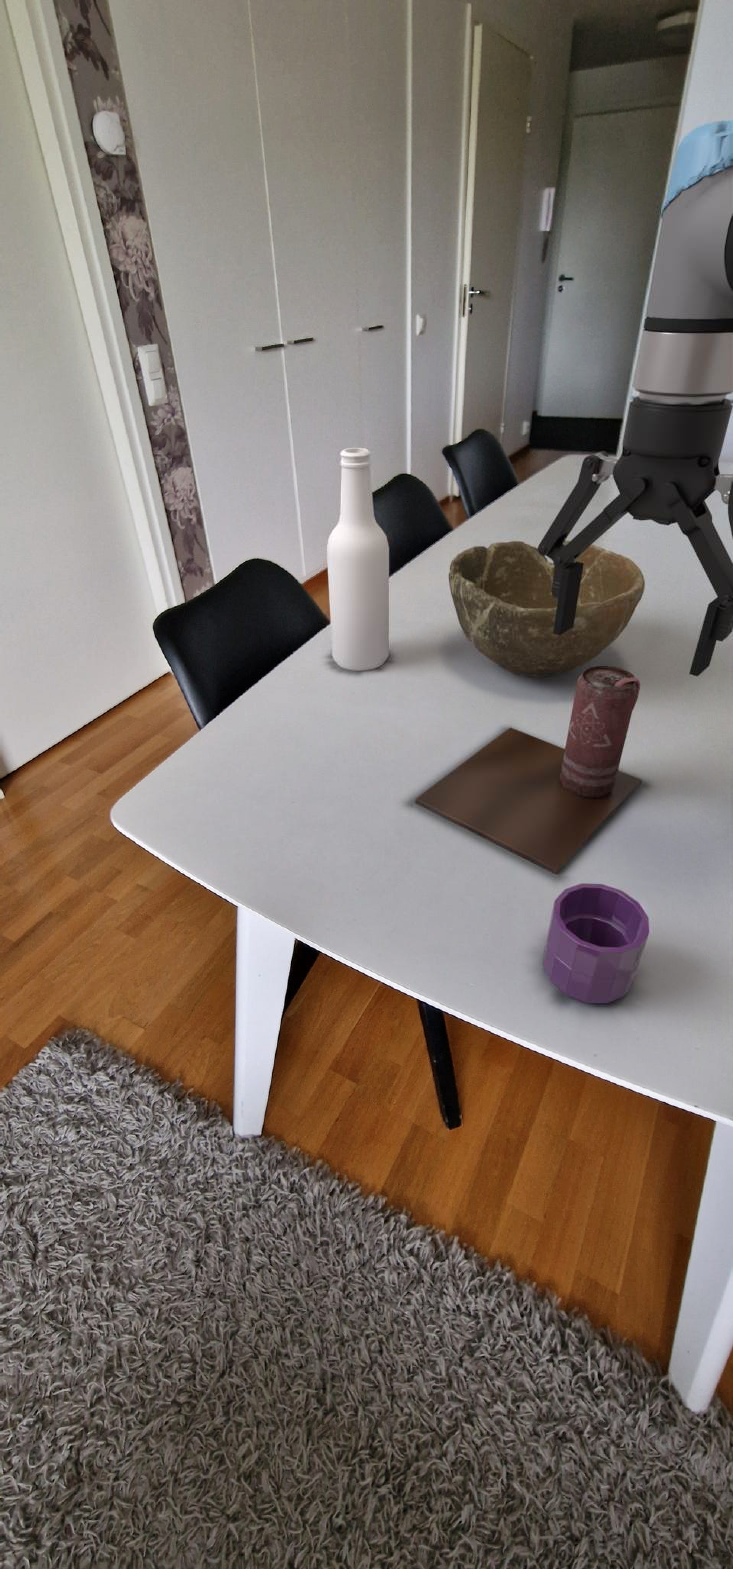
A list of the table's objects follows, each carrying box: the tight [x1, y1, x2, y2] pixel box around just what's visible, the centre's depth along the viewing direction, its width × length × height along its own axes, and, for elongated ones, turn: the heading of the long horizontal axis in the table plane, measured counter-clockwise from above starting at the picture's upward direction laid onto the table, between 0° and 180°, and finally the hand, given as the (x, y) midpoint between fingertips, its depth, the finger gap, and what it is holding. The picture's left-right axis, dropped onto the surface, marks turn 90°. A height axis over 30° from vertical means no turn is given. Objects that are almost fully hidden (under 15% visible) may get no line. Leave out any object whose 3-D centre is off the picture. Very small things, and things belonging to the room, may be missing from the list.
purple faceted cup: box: [542, 883, 650, 1004], centre depth 59 cm, size 7×8×7 cm
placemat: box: [414, 727, 643, 875], centre depth 81 cm, size 18×20×1 cm
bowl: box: [447, 540, 646, 678], centre depth 103 cm, size 28×27×15 cm
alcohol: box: [326, 447, 390, 672], centre depth 101 cm, size 9×9×30 cm
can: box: [560, 665, 641, 798], centre depth 77 cm, size 6×6×14 cm
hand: (627, 649), depth 67 cm, fingers open, 13 cm apart
